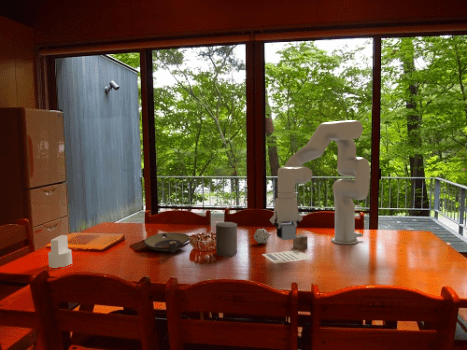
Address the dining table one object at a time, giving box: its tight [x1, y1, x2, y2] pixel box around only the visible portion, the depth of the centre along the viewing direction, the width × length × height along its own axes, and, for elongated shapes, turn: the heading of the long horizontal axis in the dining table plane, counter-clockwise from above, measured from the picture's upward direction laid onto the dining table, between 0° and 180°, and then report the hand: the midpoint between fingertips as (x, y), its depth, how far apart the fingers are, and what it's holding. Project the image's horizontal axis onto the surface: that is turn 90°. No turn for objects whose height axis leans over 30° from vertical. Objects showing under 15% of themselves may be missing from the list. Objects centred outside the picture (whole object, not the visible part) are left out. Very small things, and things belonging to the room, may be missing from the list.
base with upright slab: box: [47, 234, 73, 268], centre depth 162 cm, size 9×9×12 cm
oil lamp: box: [143, 232, 191, 253], centre depth 182 cm, size 22×30×8 cm
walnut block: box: [292, 233, 309, 251], centre depth 182 cm, size 5×5×6 cm
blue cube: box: [276, 222, 297, 241], centre depth 167 cm, size 6×6×6 cm
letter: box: [261, 249, 313, 265], centre depth 169 cm, size 18×14×1 cm
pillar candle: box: [215, 221, 238, 257], centre depth 175 cm, size 10×10×15 cm
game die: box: [251, 227, 272, 246], centre depth 190 cm, size 9×8×10 cm
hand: (286, 235), depth 168 cm, fingers closed on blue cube, 6 cm apart
